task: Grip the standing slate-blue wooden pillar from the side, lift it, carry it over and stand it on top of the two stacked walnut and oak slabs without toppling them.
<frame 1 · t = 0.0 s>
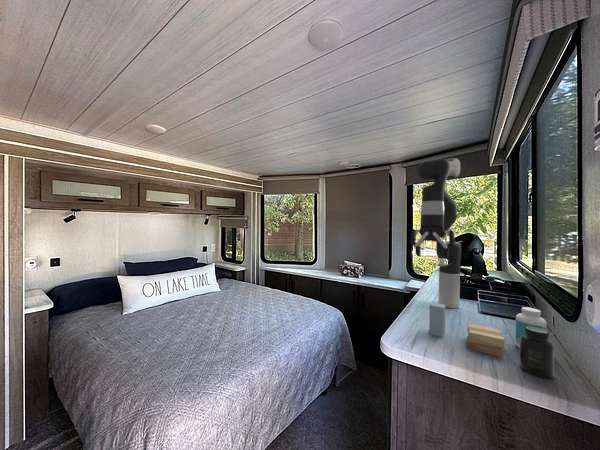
hand: (431, 257, 87), 29 cm above the countertop, tool pointing down, fingers open, 8 cm apart
pillar: (437, 333, 89), on the countertop
tower base: (483, 348, 80), on the countertop
supplement bottle: (535, 371, 67), on the countertop
pill bottle: (530, 349, 79), on the countertop
tower top: (484, 339, 80), point 2 cm above the countertop
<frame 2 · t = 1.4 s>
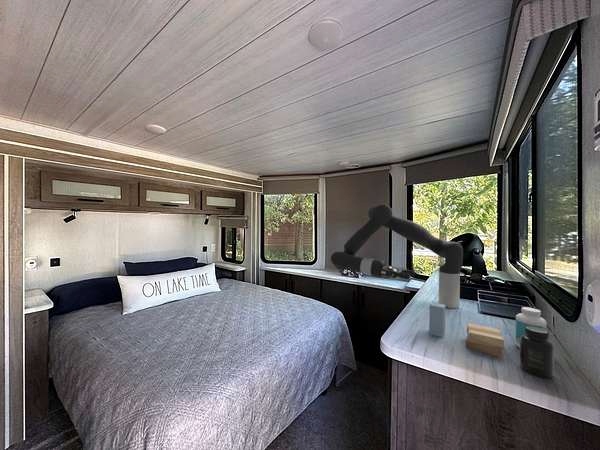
hand: (412, 275, 95), 21 cm above the countertop, tool horizontal, fingers open, 8 cm apart
tower base: (483, 348, 80), on the countertop, touching tower top
tower top: (483, 339, 80), point 2 cm above the countertop, touching tower base
everything else where it was.
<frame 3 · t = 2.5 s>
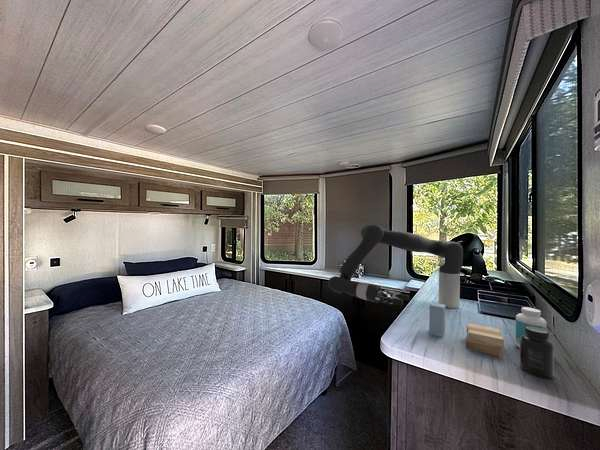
hand: (406, 300, 96), 10 cm above the countertop, tool horizontal, fingers open, 8 cm apart
nothing on the countertop moved.
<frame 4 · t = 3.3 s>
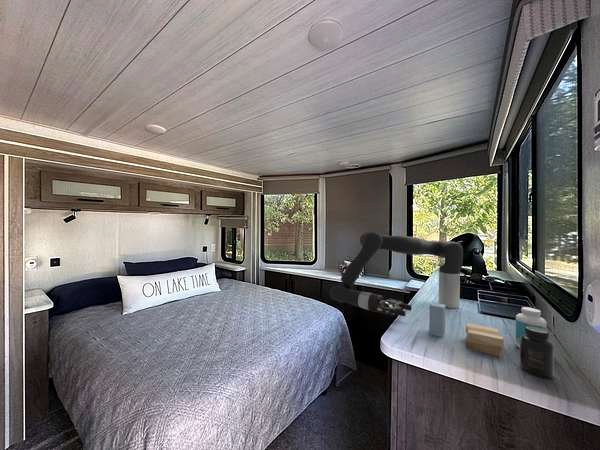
hand: (408, 310, 96), 6 cm above the countertop, tool horizontal, fingers open, 8 cm apart
nothing on the countertop moved.
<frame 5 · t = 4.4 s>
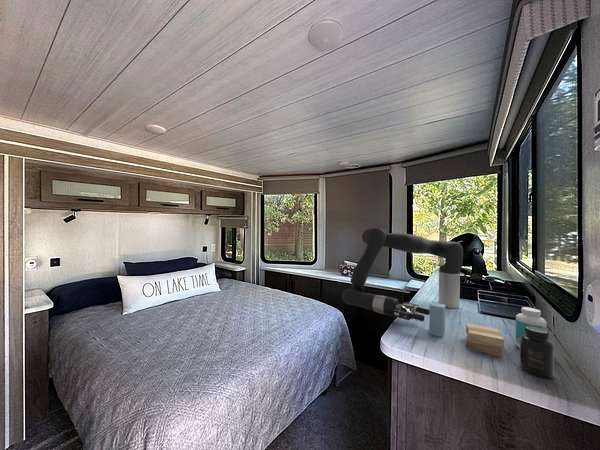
hand: (426, 315, 91), 6 cm above the countertop, tool horizontal, fingers open, 8 cm apart
tower base: (483, 348, 80), on the countertop
tower top: (483, 339, 80), point 2 cm above the countertop
everything else where it was.
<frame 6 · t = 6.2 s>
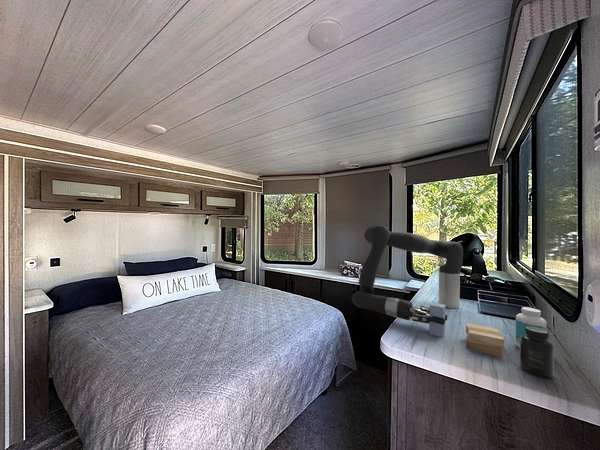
hand: (445, 319, 87), 6 cm above the countertop, tool horizontal, fingers closed on pillar, 4 cm apart
pillar: (437, 333, 89), on the countertop, touching gripper
tower base: (483, 348, 80), on the countertop, touching tower top
tower top: (483, 339, 80), point 2 cm above the countertop, touching tower base
everything else where it was.
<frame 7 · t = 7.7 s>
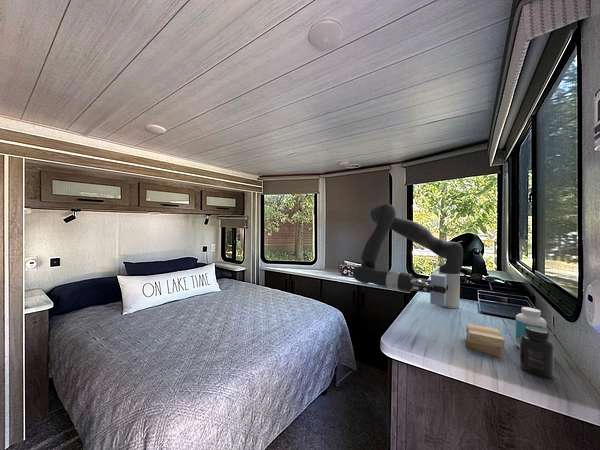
hand: (446, 289, 87), 18 cm above the countertop, tool horizontal, fingers closed on pillar, 4 cm apart
pillar: (438, 303, 89), point 11 cm above the countertop, touching gripper
tower base: (482, 348, 80), on the countertop
tower top: (483, 339, 80), point 2 cm above the countertop
everything else where it was.
when the fingers open (13 cm above the countertop, at t = 10.4 s): pillar drops 1 cm, resting on tower top.
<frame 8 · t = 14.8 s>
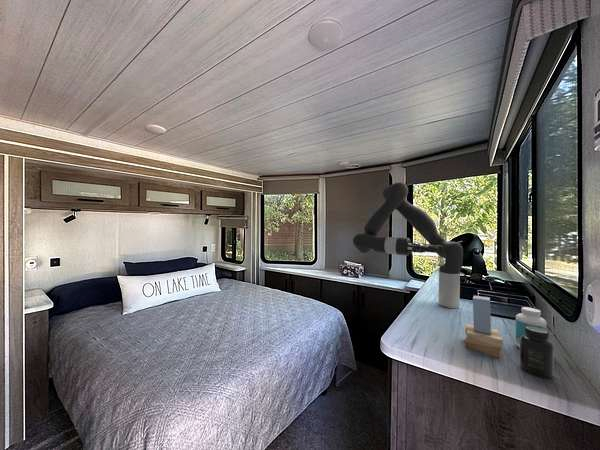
hand: (440, 249, 91), 32 cm above the countertop, tool horizontal, fingers open, 8 cm apart
pillar: (482, 330, 80), point 6 cm above the countertop, touching tower top
tower base: (482, 348, 80), on the countertop, touching tower top
tower top: (482, 339, 80), point 2 cm above the countertop, touching pillar, tower base
everything else where it was.
at the end: pillar inside the target area on the tower base (0.2 cm from its centre), point 6.2 cm above the tower base's base; pillar tilted 3°; tower top moved 0.9 cm from its start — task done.
